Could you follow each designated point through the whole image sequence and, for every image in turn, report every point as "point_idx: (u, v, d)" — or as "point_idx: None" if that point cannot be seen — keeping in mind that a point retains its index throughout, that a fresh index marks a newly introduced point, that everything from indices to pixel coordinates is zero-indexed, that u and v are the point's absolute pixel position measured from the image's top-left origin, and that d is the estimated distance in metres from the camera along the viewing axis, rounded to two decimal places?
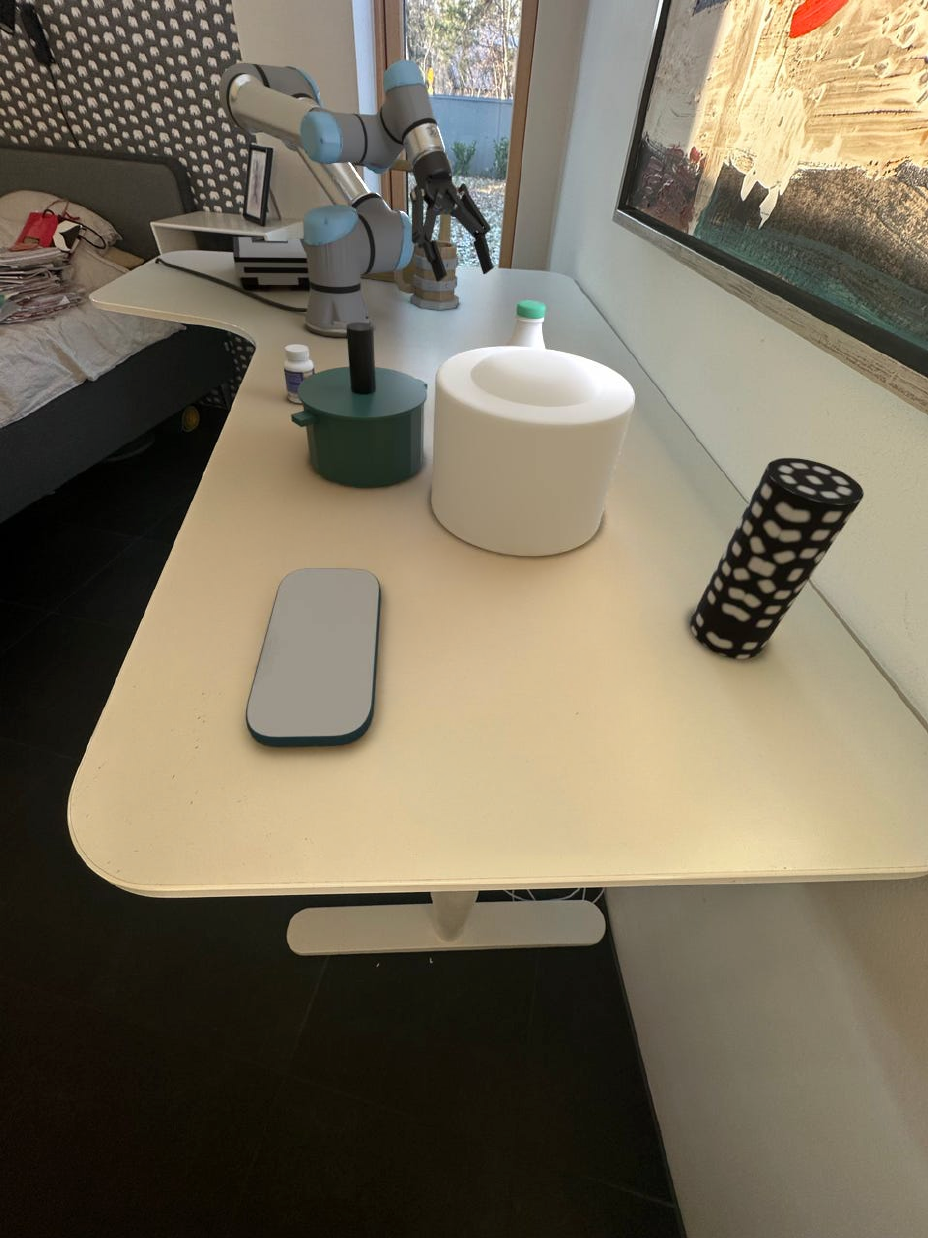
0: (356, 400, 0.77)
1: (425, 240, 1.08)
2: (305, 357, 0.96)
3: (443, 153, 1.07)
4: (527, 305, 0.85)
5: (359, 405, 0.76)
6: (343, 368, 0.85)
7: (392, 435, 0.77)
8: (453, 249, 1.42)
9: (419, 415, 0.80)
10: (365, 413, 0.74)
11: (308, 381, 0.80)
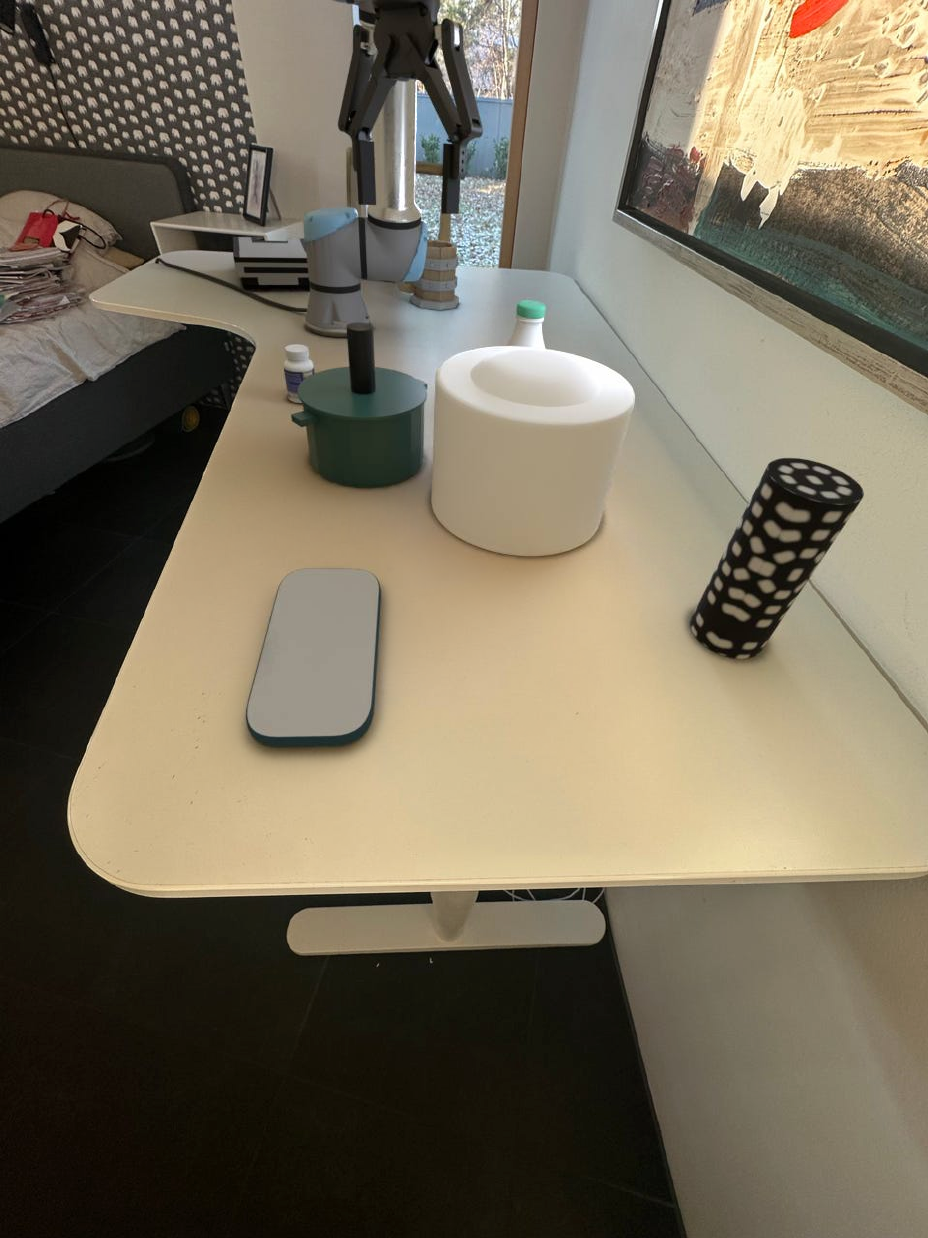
0: (356, 400, 0.77)
1: None
2: (305, 357, 0.96)
3: None
4: (527, 305, 0.85)
5: (359, 405, 0.76)
6: (343, 368, 0.85)
7: (392, 435, 0.77)
8: (453, 249, 1.42)
9: (419, 415, 0.80)
10: (365, 413, 0.74)
11: (308, 381, 0.80)
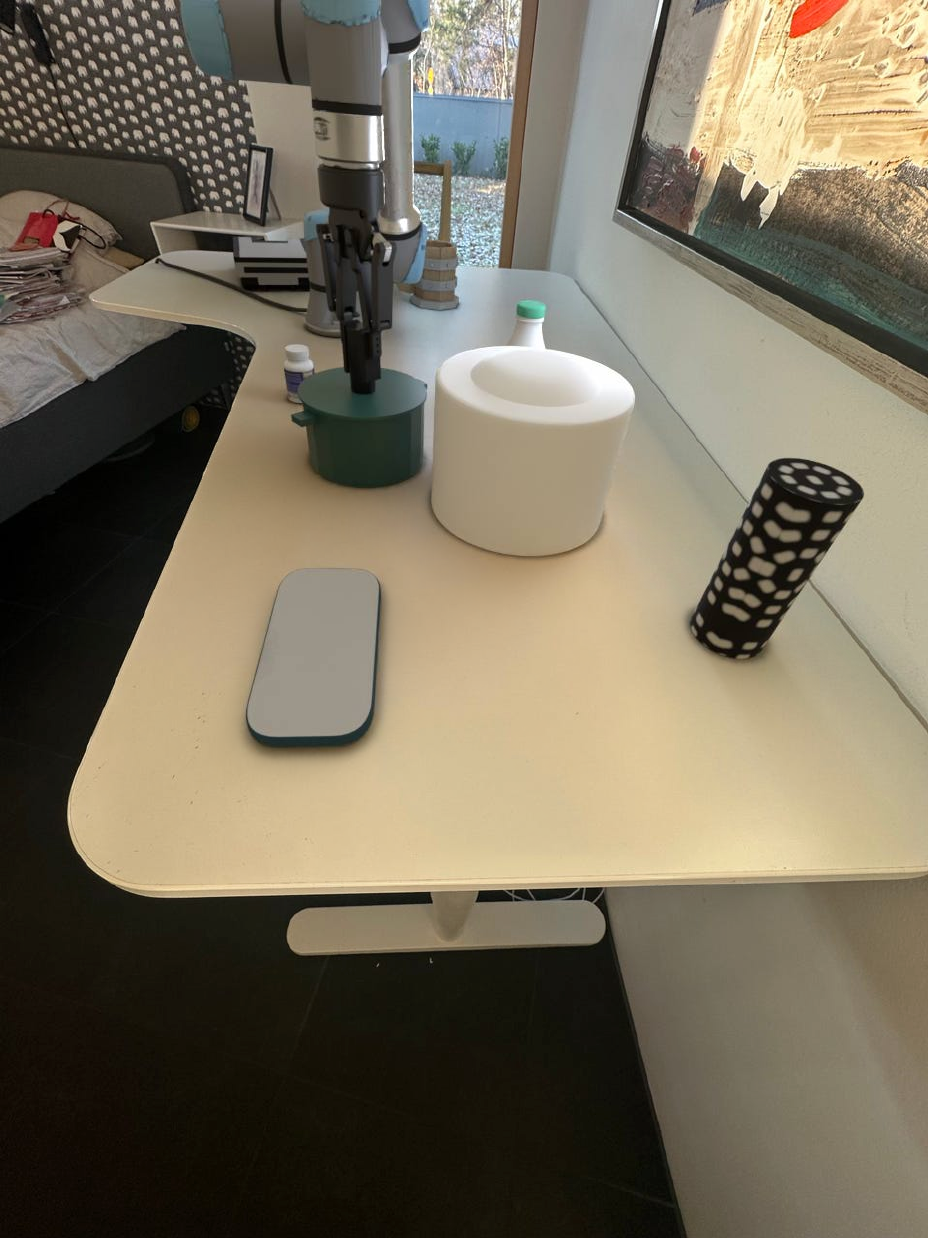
0: (356, 400, 0.77)
1: None
2: (305, 357, 0.96)
3: (327, 175, 0.60)
4: (527, 305, 0.85)
5: (359, 405, 0.76)
6: (343, 368, 0.85)
7: (392, 435, 0.77)
8: (453, 249, 1.42)
9: (419, 415, 0.80)
10: (365, 413, 0.74)
11: (308, 381, 0.80)
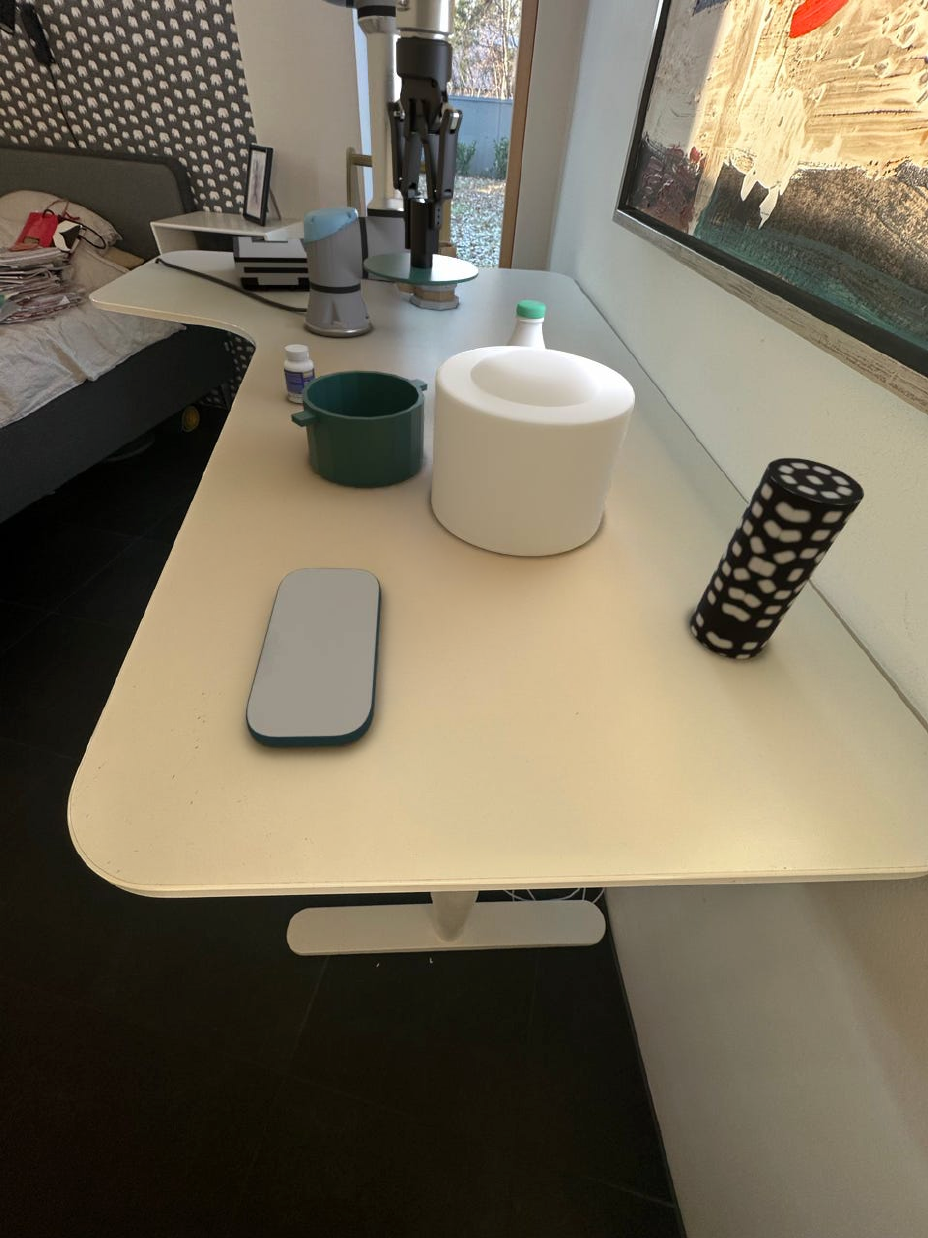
0: (416, 271, 0.86)
1: None
2: (305, 357, 0.96)
3: (406, 44, 0.69)
4: (527, 305, 0.85)
5: (420, 274, 0.85)
6: (400, 253, 0.94)
7: (392, 435, 0.77)
8: (453, 249, 1.42)
9: (419, 415, 0.80)
10: (427, 278, 0.83)
11: (371, 259, 0.89)
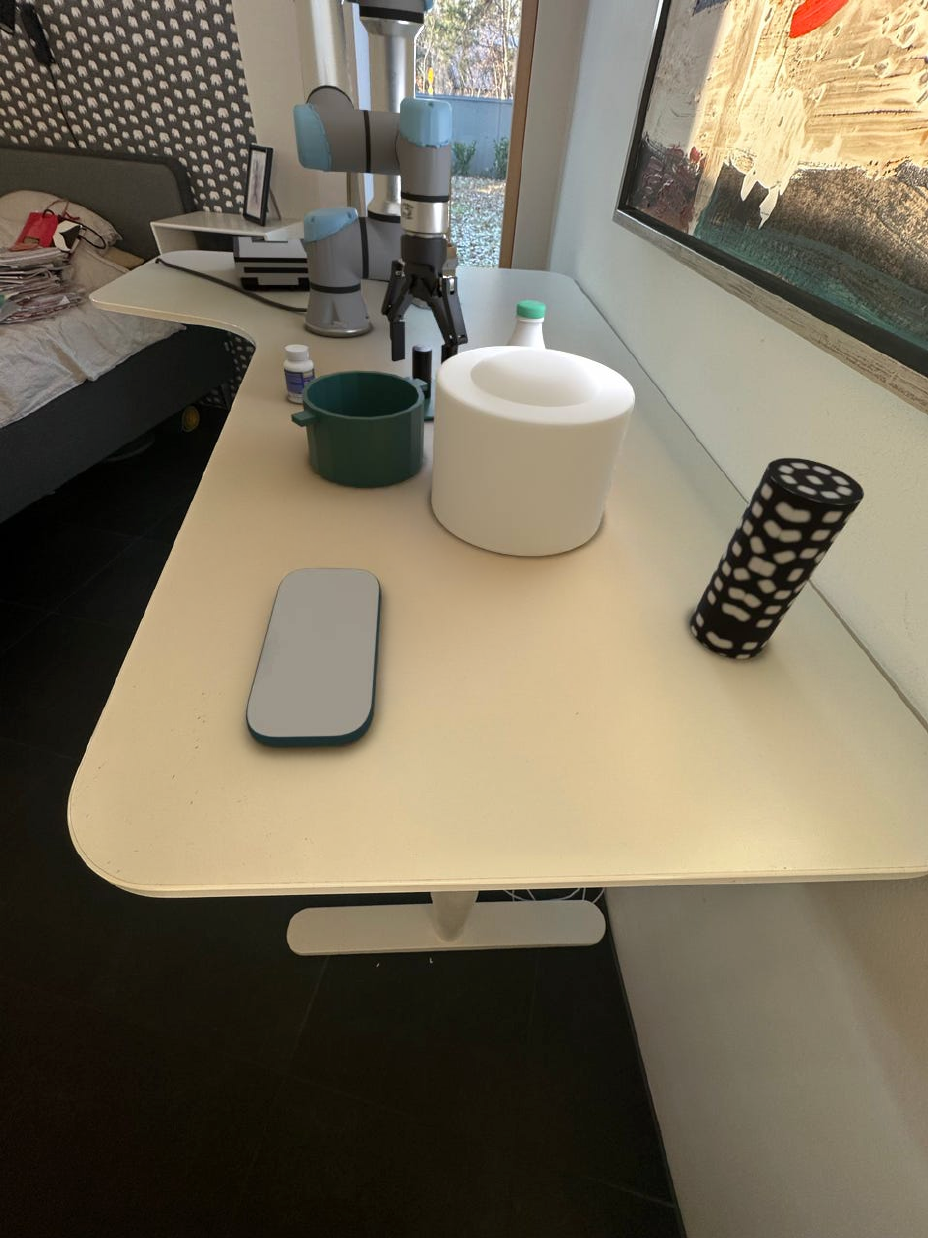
0: None
1: None
2: (305, 357, 0.96)
3: (409, 242, 0.85)
4: (527, 305, 0.85)
5: None
6: None
7: (392, 435, 0.77)
8: (453, 249, 1.42)
9: (419, 415, 0.80)
10: (426, 413, 0.98)
11: None
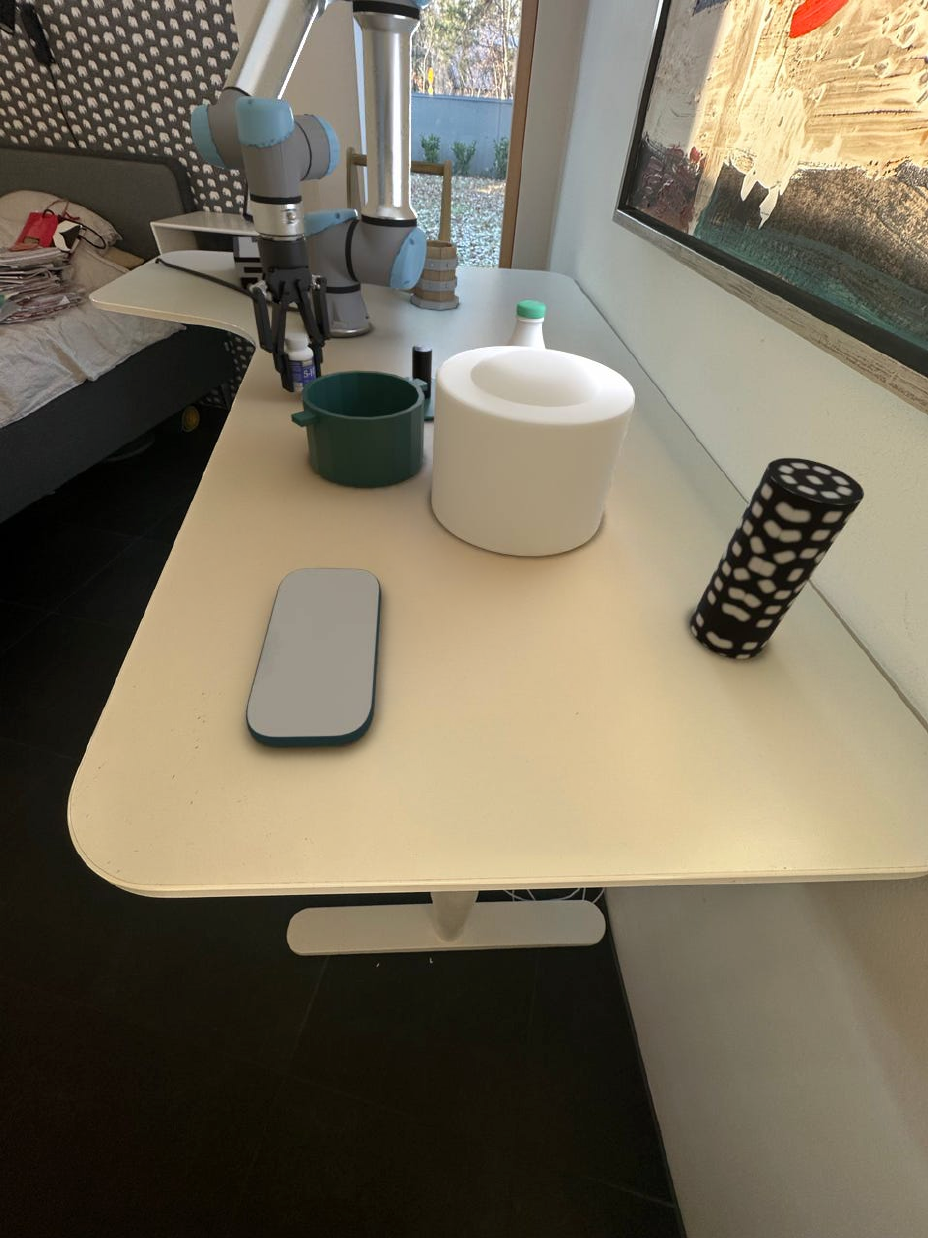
0: None
1: (277, 354, 0.94)
2: (304, 345, 0.95)
3: (299, 246, 0.84)
4: (527, 305, 0.85)
5: None
6: None
7: (392, 435, 0.77)
8: (453, 249, 1.42)
9: (419, 415, 0.80)
10: (426, 413, 0.98)
11: None
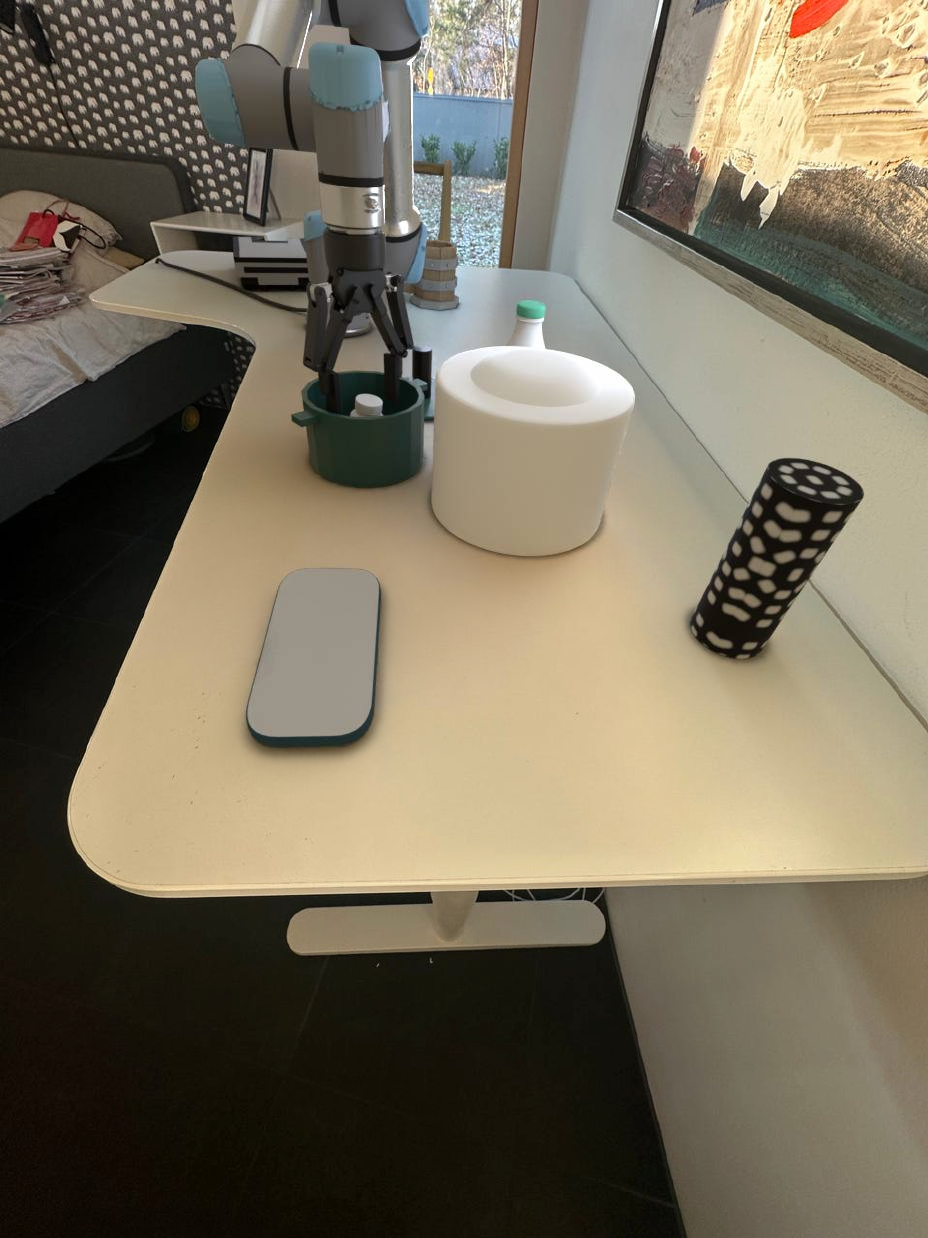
0: None
1: (323, 373, 0.73)
2: (379, 412, 0.81)
3: (377, 242, 0.66)
4: (527, 305, 0.85)
5: None
6: None
7: (392, 435, 0.77)
8: (453, 249, 1.42)
9: (419, 415, 0.80)
10: (426, 413, 0.98)
11: None
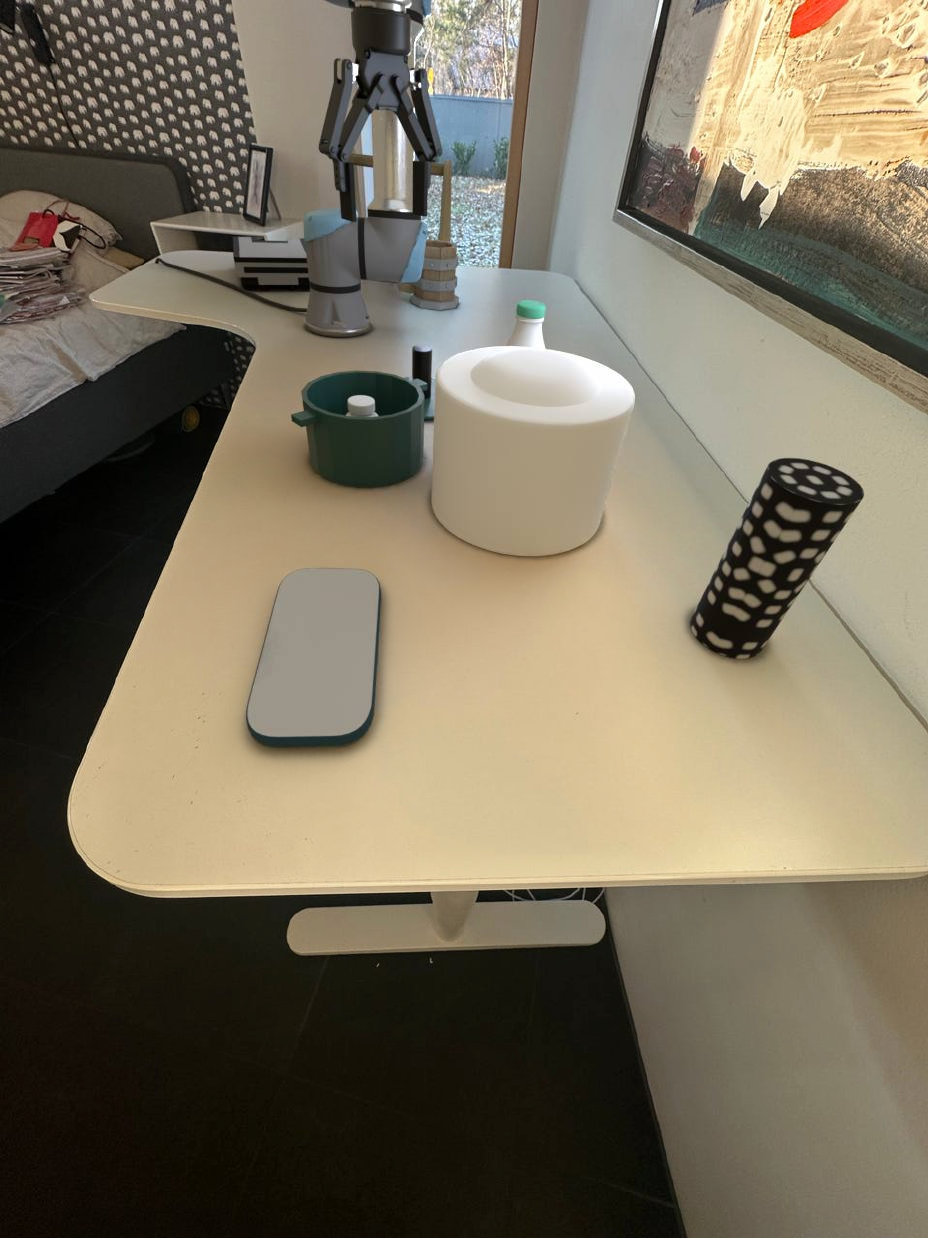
0: None
1: (338, 158, 0.73)
2: (372, 411, 0.81)
3: (404, 19, 0.67)
4: (527, 305, 0.85)
5: None
6: None
7: (392, 435, 0.77)
8: (453, 249, 1.42)
9: (419, 415, 0.80)
10: (426, 413, 0.98)
11: None
